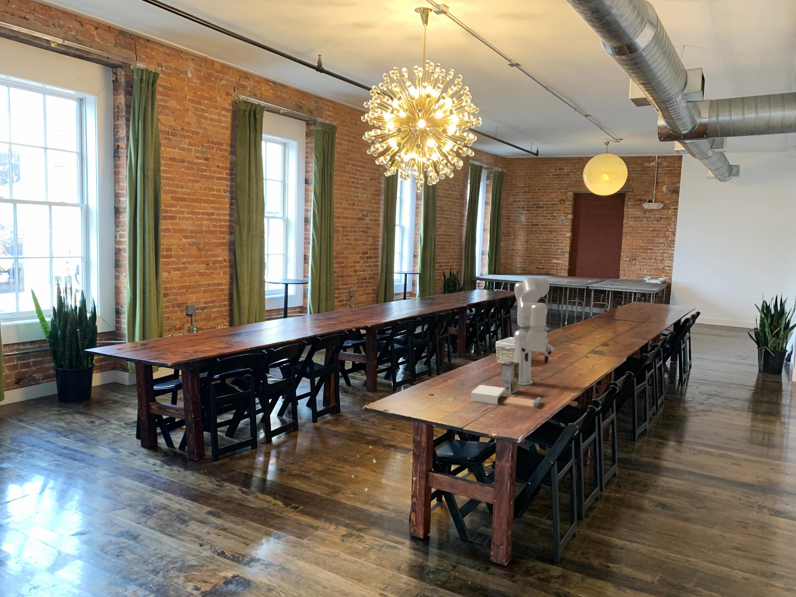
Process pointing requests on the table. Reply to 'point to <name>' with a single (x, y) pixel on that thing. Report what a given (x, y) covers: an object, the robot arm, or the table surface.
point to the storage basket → (505, 350)
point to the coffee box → (510, 377)
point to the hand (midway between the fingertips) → (536, 362)
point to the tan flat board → (523, 402)
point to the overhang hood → (487, 394)
